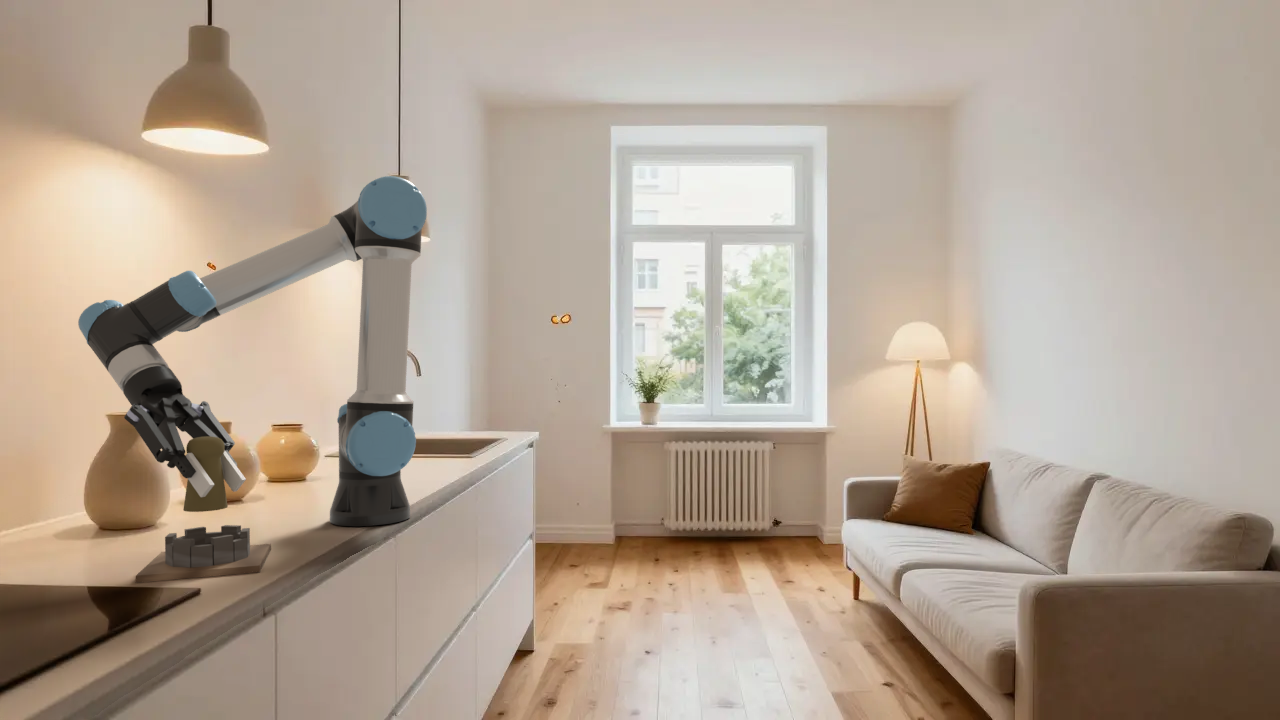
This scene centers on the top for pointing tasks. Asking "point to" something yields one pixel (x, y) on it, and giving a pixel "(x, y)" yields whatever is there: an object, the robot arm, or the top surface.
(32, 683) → the top surface
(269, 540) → the top surface
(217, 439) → the cork
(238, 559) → the collar
